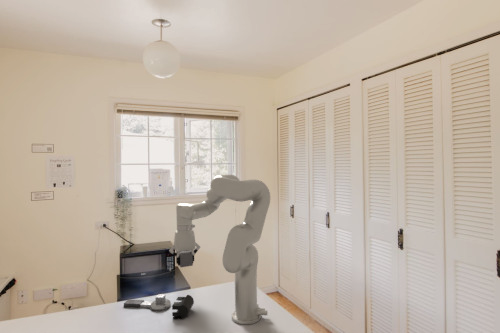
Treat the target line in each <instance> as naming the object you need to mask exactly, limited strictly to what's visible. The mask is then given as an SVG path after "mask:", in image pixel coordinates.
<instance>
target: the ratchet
mask: <svg viewBox="0 0 500 333" xmlns="http://www.w3.org/2000/svg"><path fill="white" fill-rule="evenodd" d="M171 307H172V305H171V300H170V299H167V298H166V294H165V293H164V294H163V293H161V294H160V293H159V294H157V295H156V296H155V300H154V301H152V300H151V301H150V300H149V301H148V300H146V301H145V299H127V300H126V301H125V302H124V303H123V308H135V309H138V308H139V309H140V308H141V309H142V308H143V309H150V310H151V311H153V312H162V311H166V310H168V309H170V308H171Z"/></svg>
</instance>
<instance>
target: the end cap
mask: <svg viewBox="0 0 500 333" xmlns="http://www.w3.org/2000/svg"><path fill="white" fill-rule="evenodd" d="M176 301H177V302H175V301H174V302H173V304H172V305H171V310H173V311H172V312H171V315H172V320H184V319H185V318H186V317H187V316H188V314H189V312H191V309H192V307H193V306H194V305H195V300H194V298H193V296H192V295H190V294H187V295H186V296H178V297H177V298H176ZM175 310H176V311H175Z"/></svg>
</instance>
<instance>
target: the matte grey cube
mask: <svg viewBox="0 0 500 333" xmlns="http://www.w3.org/2000/svg"><path fill="white" fill-rule="evenodd" d="M179 257H180V266H179V267H180V268H186V267H192V266H194V265H193V264H194V261H193V258H192V252H191V251H183V252H180V255H179Z"/></svg>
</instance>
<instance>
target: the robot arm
mask: <svg viewBox="0 0 500 333" xmlns="http://www.w3.org/2000/svg"><path fill="white" fill-rule="evenodd" d="M227 199H228V200H230V201H235V202H241V203H242V202H247V201H248V202H249V201H251V202H250V204H249V205H248V208H247V209H246V213H245V217H244V219H243V222H241V223H239V224H236V225H234V226H233V227H232V228H231V229H230V230H229V231H228V234H227V238H226V242H225V245H224V249H223V254H222V265H223V268H224V269H225V271H226V272H227V273H230V274H234V303H235V304H234V306H235V308H234V309H235V310H234V311H233V312H232V314H231V319H232V321H233V322H235V323H236V324H239V325H253V324H255V323H258V322H259V321H260V320H261V318H262V316H268V309H267V310H266V308H265V307H263V308H261V307H259V304H258V287H257V284H258V283H257V282H258V280H257V279H258V278H257V276H258V275H257V274H258V272H257V270H258V262H259V252H258V250H257V249H258V248H256V246H255V245H254V244H256V243H258V242H259V241H260V240H261V237H262V232H263V230H264V225H265V222H266V218H267V214H268V211H269V208H270V203H271V192H270V189H269V187H268V186H267V185H266V183H265V182H263V181H261V180H259V179H246V180H240V179H239V177H238V176H236V175H234V174H219V175H216V176H215V177H213V179H212V180H211V182H210V188H208V190H207V191H206V199H205V200H203V201H202V202H197V203H196V202H195V203H189V202H182V203H178V204H177V205H176V206H175V207H176V208H175V209H176V230H175V232H174V239H173V240H174V241H173V245H172V246H171V248H170V249H169V250H168V251H169V253H170V254H172V255H173V256H174V257H175V263H176V265H177V266H179V267H180V257H179V255H180V252H183V251H191V252H192V258H193V262H195V255H196V253H197V252H198V251H199V250H200V248H201V246H200V244H198V243H197V242H196V238H195V236H196V235H195V232H194V228H196V224H193V221H194V220H198V219H202V218H206V217H208V216H210V215H212V214H213V213H214V212H215V211H217V210H218V209H219V207H220V204H222V203H223V202H225V200H227ZM174 250H175V251H174Z"/></svg>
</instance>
